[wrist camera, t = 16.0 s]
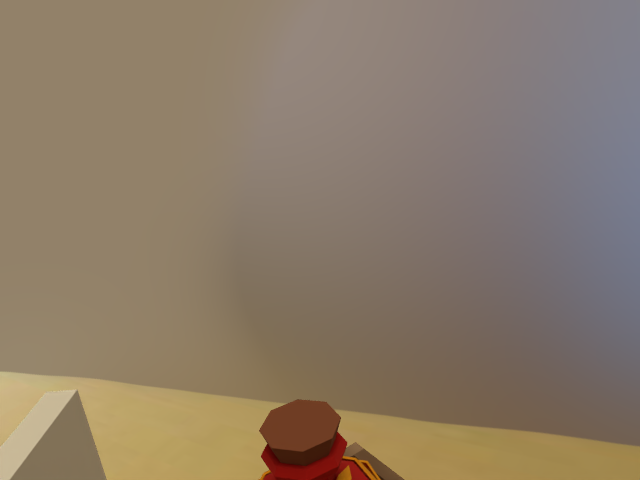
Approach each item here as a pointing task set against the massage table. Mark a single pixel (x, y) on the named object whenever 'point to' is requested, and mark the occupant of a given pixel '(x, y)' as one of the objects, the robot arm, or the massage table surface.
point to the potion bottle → (308, 445)
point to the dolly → (371, 462)
